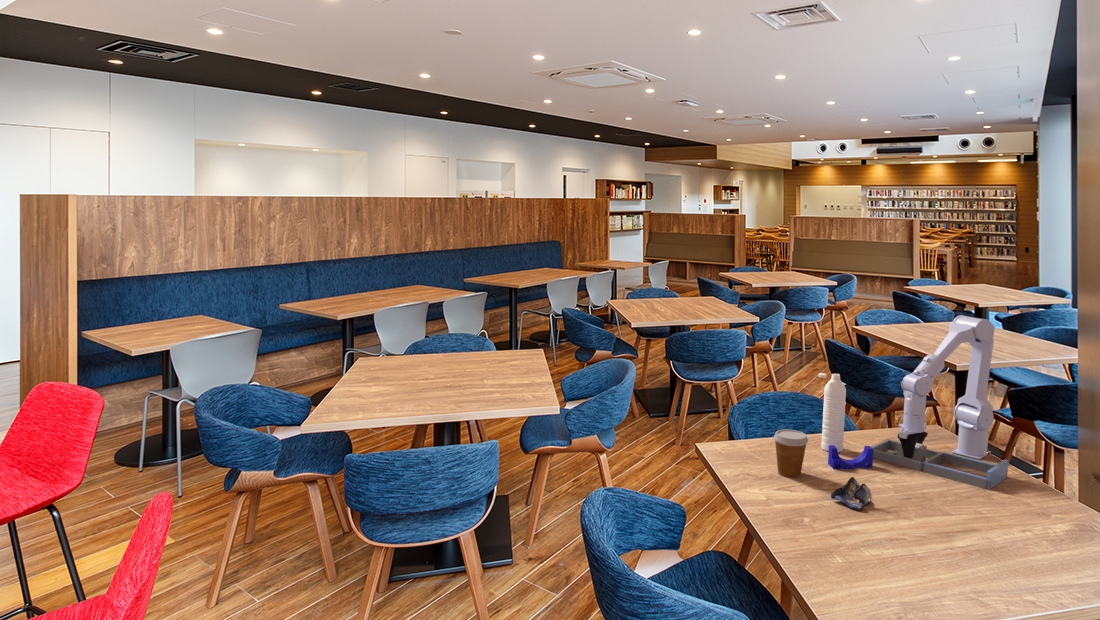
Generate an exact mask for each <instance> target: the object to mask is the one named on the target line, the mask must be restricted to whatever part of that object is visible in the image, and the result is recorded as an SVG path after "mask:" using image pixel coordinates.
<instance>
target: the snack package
mask: <svg viewBox="0 0 1100 620" xmlns="http://www.w3.org/2000/svg"><path fill="white" fill-rule="evenodd" d="M860 483H861V484H860ZM871 491H872V490H871V489H870V488H869V487H868V486H867V484H866V483H862V482H858V481H857V480H856V478H855V477H850V478H849V479H848V480H847V482H846V484H844V485H842V486H841V487H839V488H836V489H835V490H834V491H833V492H831V493H830V498H831V499H832V500H836V501H840V502H841V503H843V505H844V506H845V507H847V508H849V509H850V510H855V511H859V512H861V511H863V508H864V506H865V505H867V504H868V503H869V502H871V497H872V492H871ZM852 500H856V501H857V500H858V502H851V501H852Z"/></svg>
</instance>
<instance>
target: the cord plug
mask: <svg viewBox="0 0 1100 620" xmlns="http://www.w3.org/2000/svg"><path fill="white" fill-rule="evenodd" d="M898 442H899V443H897V450H895V451H894V450H891V449H889V450H888V449H887V452H886V453H890V454H893V455H897V456H901V457H904V454H903V449H902V445H901V442H900V441H898ZM927 449H928V446H927V445H924V444H923V443H922V444H919V443H916V445H915V448H914V453H913V457H912V458H911V459H912V460H916V461H920V462H924V461H925V460H927V458H926V452H927ZM905 458H906V457H905ZM909 459H910V458H909Z"/></svg>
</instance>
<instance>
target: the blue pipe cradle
mask: <svg viewBox="0 0 1100 620" xmlns="http://www.w3.org/2000/svg"><path fill="white" fill-rule="evenodd" d="M871 447H872V446H870V445H864V447H863V451H862V453H860V455H858V456H857V457H855V458H852V459H847V458H846V459H845V458H843V457H841V456H840V455H839V452H838V451H837V448H836V447H835V446H834V445H829V452H828V455H827V456H828V457H827V458H828V459H827V464H828V465H829V466H830V467H831V469H832V468H833V469H832V470H854V469H873V464H874V463H873V461H874V458H873V450H874V449H873V448H871Z"/></svg>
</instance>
